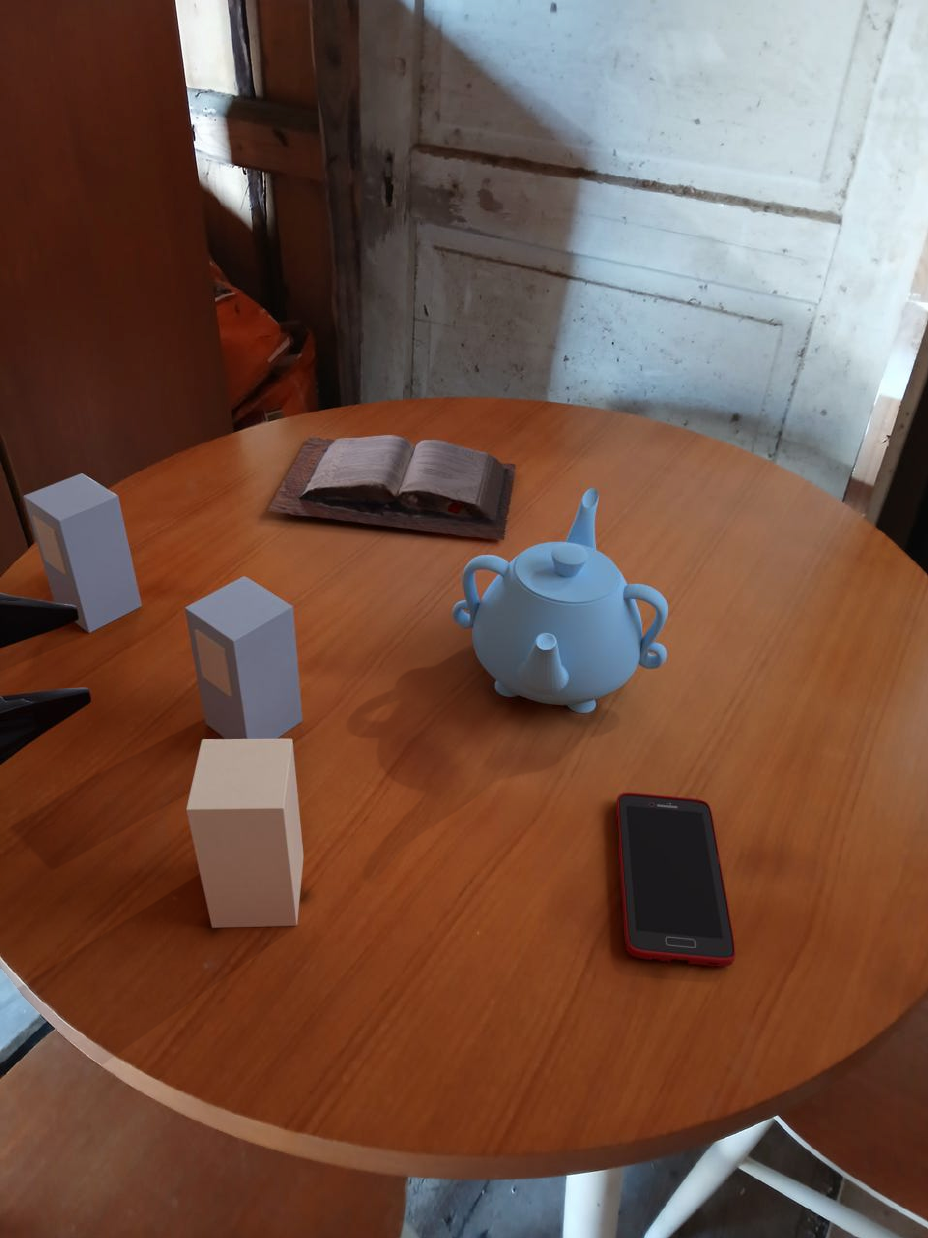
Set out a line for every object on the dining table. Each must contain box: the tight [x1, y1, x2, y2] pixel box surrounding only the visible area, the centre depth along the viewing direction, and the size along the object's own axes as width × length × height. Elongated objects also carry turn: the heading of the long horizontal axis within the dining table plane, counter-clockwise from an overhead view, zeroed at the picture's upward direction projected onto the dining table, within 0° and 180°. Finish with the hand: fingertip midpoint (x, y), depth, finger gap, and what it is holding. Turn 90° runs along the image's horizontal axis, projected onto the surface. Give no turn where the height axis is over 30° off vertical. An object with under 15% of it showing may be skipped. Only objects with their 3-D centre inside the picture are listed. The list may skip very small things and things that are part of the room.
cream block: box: [185, 738, 304, 929], centre depth 63 cm, size 6×6×13 cm
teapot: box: [451, 487, 669, 714], centre depth 83 cm, size 16×20×14 cm
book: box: [267, 434, 517, 541], centre depth 111 cm, size 20×28×4 cm
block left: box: [23, 473, 143, 634], centre depth 87 cm, size 6×6×13 cm
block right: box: [184, 575, 303, 739], centre depth 76 cm, size 6×6×13 cm
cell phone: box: [615, 792, 737, 968], centre depth 69 cm, size 8×15×1 cm, turn 176°
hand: (83, 651), depth 62 cm, fingers open, 9 cm apart
